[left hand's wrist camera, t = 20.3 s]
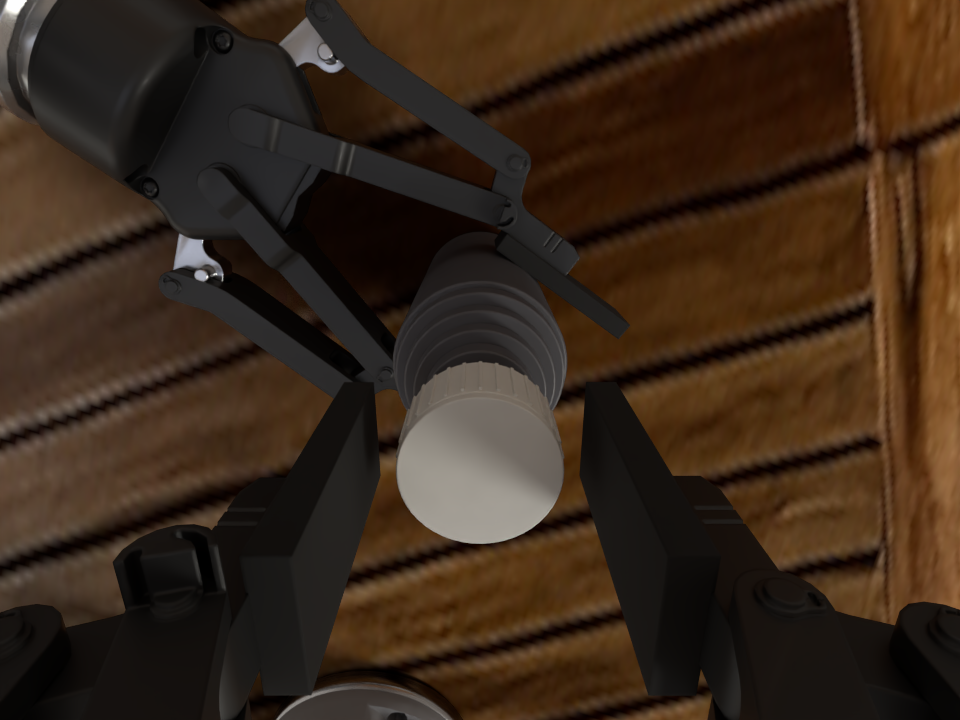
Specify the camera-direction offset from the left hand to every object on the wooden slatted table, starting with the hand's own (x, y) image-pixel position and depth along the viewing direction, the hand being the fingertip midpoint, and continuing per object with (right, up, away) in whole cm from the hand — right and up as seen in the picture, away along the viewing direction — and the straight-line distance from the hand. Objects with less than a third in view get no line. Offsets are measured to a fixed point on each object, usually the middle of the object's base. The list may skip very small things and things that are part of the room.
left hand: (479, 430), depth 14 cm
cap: (0, -1, -2) cm, 2 cm away
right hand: (+4, +1, +11) cm, 12 cm away
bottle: (0, +6, +16) cm, 17 cm away
